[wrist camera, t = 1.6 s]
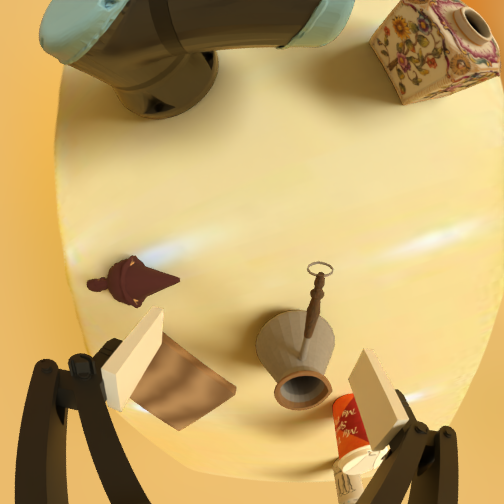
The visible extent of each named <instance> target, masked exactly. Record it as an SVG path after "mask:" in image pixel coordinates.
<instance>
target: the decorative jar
mask: <svg viewBox="0 0 504 504" xmlns="http://www.w3.org/2000/svg"><path fill="white" fill-rule="evenodd" d="M369 43H370V45H371V47H372V48H373V50H374V52H375V53H376V55H377V56H378V58H379V60H380V61H381V63H382V65H383V66H384V69H385V70H386V72H387V74H388V76H389V78H390V80H391V82H392V83H393V85H394V87H395V89H396V91H397V93H398V96H399V98H400V100H401V102H402V104H403V105H407V104H411V103H416V102H420V101H425V100H429V99H434V98H439V97H443V96H448V95H451V94H453V93H456V92H458V91H461V90H464V89H466V88H469V87H472V86H474V85H476V84H479V83H481V82H484V81H486V80H489V79H491V78H493V77H496V76H500V69H501V61H500V49H499V46H498V44H497V42H496V40H495V38H494V37H493V35H492V33H491V30H490V28H489V26H488V25H487V24H486V22H485V20H484V19H483V18H482V17H481V16H480V15H479V14H478V13H477V12H476V11H475V10H473V9H472V8H470V7H469V6H467V5H466V4H465V3H463V2H462V1H460V0H400V2H399V3H398V4H397V5H396V7H395V8H394V9H393V10H392V11H391V13H390V14H389V15H388V16H387V18H386V19H385V20H384V21H383V23H382V24H381V25H380V26H379V28H378V29H377V30H376V31H375V33H374V34H373V36H372V37H371V39H370V41H369Z"/></svg>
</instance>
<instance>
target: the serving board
mask: <svg viewBox="0 0 504 504" xmlns="http://www.w3.org/2000/svg"><path fill="white" fill-rule="evenodd" d="M235 393H236V386H234V385H233V384H231V383H230V382H228V381H227V380H225V379H224V378H222V377H221V376H220V375H218V374H217V373H215V372H214V371H213V370H211V369H210V368H208V367H207V366H206V365H204V364H203V363H202V362H200V361H199V360H198V359H196V358H195V357H194V356H192V355H191V354H190V353H188V352H187V351H186V350H185V349H183V348H182V347H181V346H180V345H178V344H177V343H176V342H175V341H173V340H172V339H171V338H170V337H168V336H167V335H166V334H165V333H164V332H162V344H161V346H160V347H159V349H158V351H157V352H156V354H155V356H154V357H153V359H152V361H151V362H150V364H149V366H148V367H147V369H146V371H145V372H144V374H143V376H142V377H141V379H140V381H139V382H138V384H137V386H136V388H135V389H134V391H133V393H132V394H131V396H130V398H131V399H132V400H133V401H135V402H136V403H137V404H139V405H140V406H141V407H143V408H144V409H146V410H147V411H149V412H150V413H151V414H153V415H154V416H156V417H157V418H159V419H160V420H162V421H163V422H165V423H167V424H168V425H170V426H171V427H173V428H174V429H176V430H178V431H180V430H182V429H184V428H185V427H187V426H188V425H190V424H192V423H193V422H195V421H196V420H198V419H200V418H201V417H203V416H204V415H206V414H207V413H209V412H210V411H212V410H213V409H215V408H216V407H218V406H219V405H221V404H222V403H224V402H225V401H227V400H228V399H230V398H231V397H232V396H234V395H235Z"/></svg>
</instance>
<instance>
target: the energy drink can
mask: <svg viewBox="0 0 504 504" xmlns="http://www.w3.org/2000/svg"><path fill="white" fill-rule="evenodd" d="M338 462H339V458H338V459H337V460H336V461H335V462H334V464H333V471H334V477H335V483H336V489H337V495H338V502H339V504H355V503H356V502H357V500H358V499H359V497H360V496H361V494H362V493H363V492H364V489H363V485H362V481H361V477H360V474H356V475H348V474H345V473H343V472H342V470H341V469H340V468H339V467H338Z"/></svg>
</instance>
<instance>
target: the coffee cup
mask: <svg viewBox="0 0 504 504" xmlns="http://www.w3.org/2000/svg"><path fill="white" fill-rule="evenodd" d="M333 417H334V424H335V431H336V438H337V446H338V453H339V462H338V467H339V468H340V469H341V470H342V472H343V473H345V474H348V475H356V474H362V473H365V472H368V471H371V470H373V469H375V468H377V467H378V466H380V464H381V463H382V461H383V460H381V458H382V457H383V456H384V455H385V454H386V453H387V451H388V449H387V446H386V448H385V449H384V450H380V451H372V450H371V446H370V443H369V440H368V437H367V434H366V430H365V427H364V424H363V421H362V418H361V415H360V412H359V409H358V406H357V403H356V400H355V397H354V394H347V395H344V396H342V397H340V398H338V399H337V400H336V401H335V402H334V404H333Z"/></svg>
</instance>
